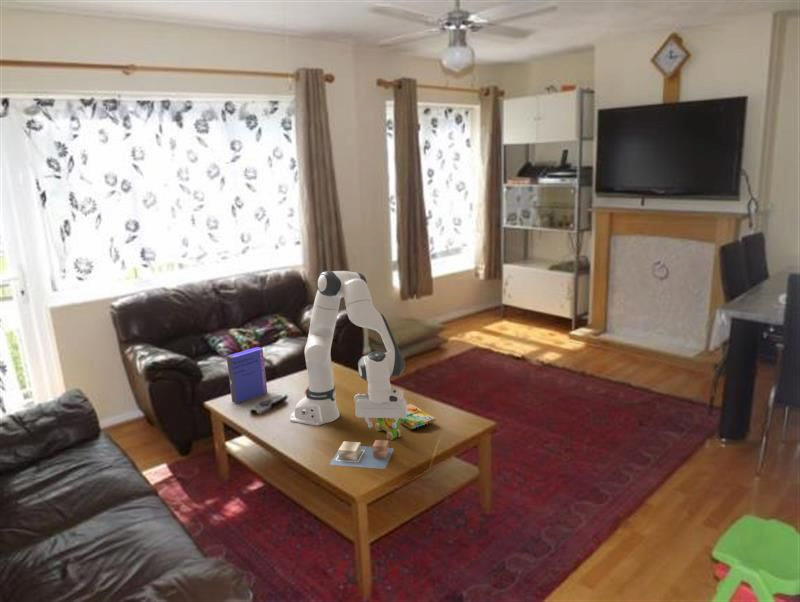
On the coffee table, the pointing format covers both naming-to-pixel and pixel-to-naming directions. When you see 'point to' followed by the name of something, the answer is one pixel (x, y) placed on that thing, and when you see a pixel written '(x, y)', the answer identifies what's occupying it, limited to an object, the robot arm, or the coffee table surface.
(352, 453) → the ash base block
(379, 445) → the terracotta cube
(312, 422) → the robot arm
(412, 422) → the puzzle game
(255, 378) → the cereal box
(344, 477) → the coffee table surface
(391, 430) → the toy lion
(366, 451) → the board
